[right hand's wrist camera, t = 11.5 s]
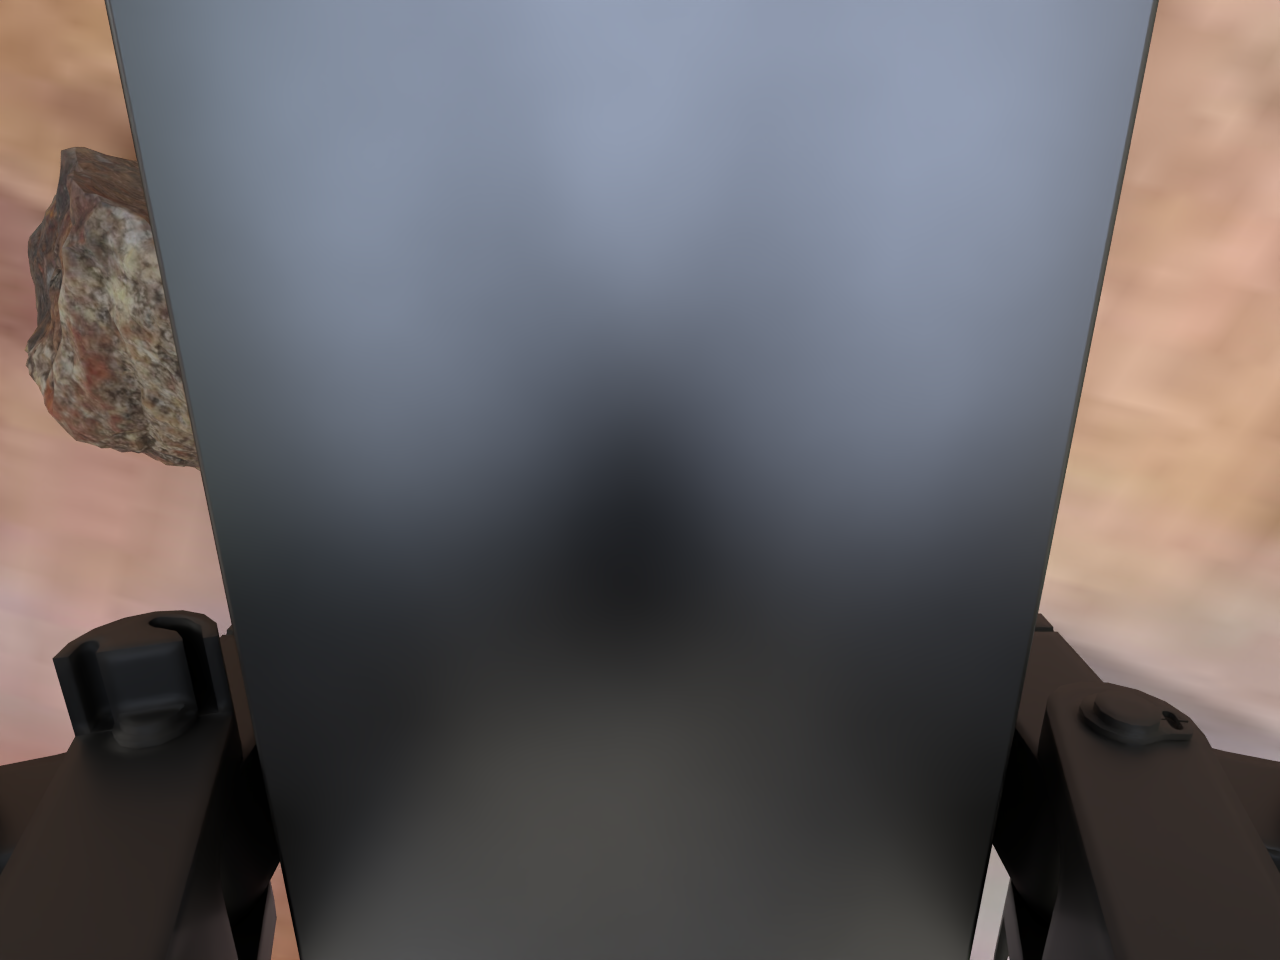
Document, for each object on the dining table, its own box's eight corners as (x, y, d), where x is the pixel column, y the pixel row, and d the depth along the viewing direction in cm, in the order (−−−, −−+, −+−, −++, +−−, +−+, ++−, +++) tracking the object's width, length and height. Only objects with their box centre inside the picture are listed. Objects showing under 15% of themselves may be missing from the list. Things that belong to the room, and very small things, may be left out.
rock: (137, 58, 25) (28, 333, 28) (-141, -15, 16) (-253, 387, 19) (544, 331, 26) (400, 562, 29) (476, 388, 18) (286, 700, 21)
